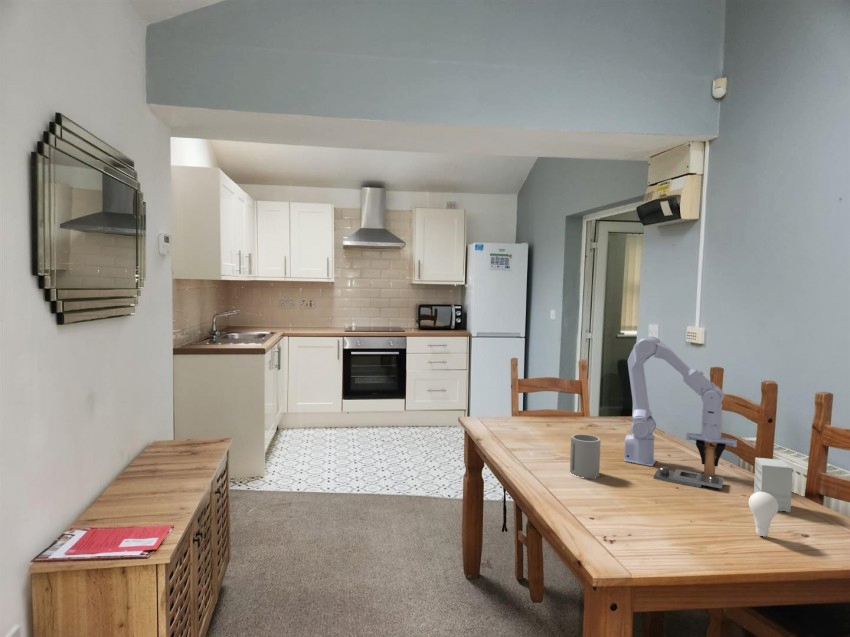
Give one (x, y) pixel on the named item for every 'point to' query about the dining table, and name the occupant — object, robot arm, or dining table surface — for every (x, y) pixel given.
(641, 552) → the dining table surface
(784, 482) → the supplement box
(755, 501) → the lightbulb
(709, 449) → the pin
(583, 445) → the cup
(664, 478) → the grey flat plate
